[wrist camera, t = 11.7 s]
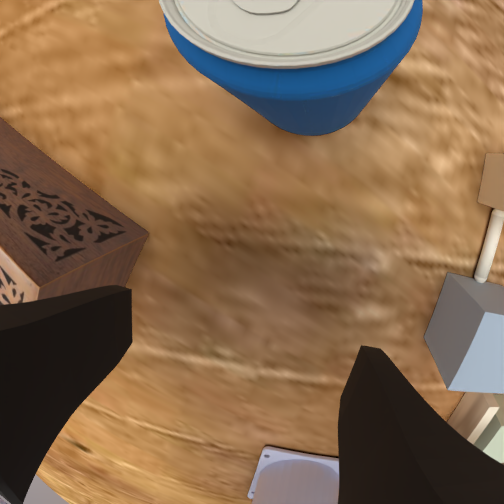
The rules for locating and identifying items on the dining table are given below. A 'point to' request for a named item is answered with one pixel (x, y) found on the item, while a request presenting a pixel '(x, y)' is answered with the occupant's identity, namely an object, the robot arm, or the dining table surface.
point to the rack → (473, 414)
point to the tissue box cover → (56, 228)
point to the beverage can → (296, 53)
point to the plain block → (494, 433)
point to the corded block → (474, 307)
